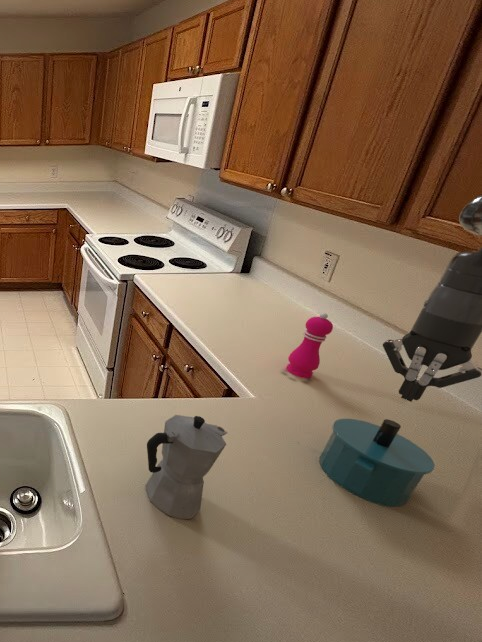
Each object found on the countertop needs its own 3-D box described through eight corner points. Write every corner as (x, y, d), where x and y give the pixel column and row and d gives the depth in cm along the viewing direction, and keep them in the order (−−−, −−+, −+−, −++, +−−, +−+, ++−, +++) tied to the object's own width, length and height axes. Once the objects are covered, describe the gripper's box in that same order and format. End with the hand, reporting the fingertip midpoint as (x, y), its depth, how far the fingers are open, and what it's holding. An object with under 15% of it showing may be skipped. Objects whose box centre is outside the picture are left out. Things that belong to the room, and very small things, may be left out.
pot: (417, 482, 84) (438, 450, 80) (392, 525, 73) (415, 489, 70) (335, 441, 94) (351, 411, 90) (304, 473, 83) (320, 440, 80)
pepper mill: (318, 378, 120) (347, 317, 113) (302, 382, 118) (331, 319, 110) (293, 366, 127) (318, 306, 119) (277, 369, 124) (303, 308, 116)
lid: (438, 458, 79) (455, 433, 77) (421, 489, 71) (439, 462, 69) (344, 415, 90) (356, 392, 88) (320, 437, 82) (332, 413, 80)
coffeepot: (183, 473, 80) (210, 397, 74) (221, 514, 72) (255, 432, 65) (114, 484, 76) (137, 405, 70) (146, 529, 68) (174, 443, 61)
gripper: (517, 324, 67) (461, 412, 73) (407, 296, 77) (367, 376, 83) (512, 333, 62) (454, 425, 69) (397, 303, 72) (355, 386, 79)
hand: (406, 398), depth 76 cm, fingers closed
